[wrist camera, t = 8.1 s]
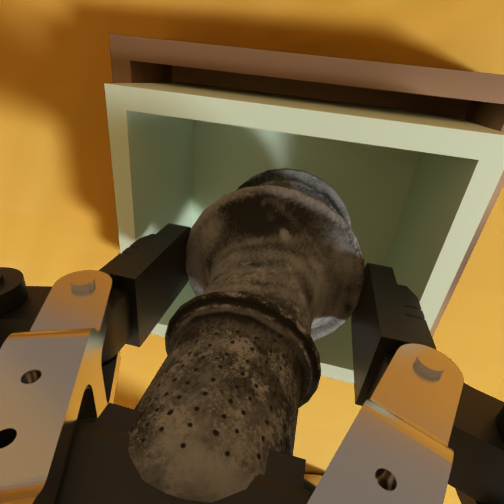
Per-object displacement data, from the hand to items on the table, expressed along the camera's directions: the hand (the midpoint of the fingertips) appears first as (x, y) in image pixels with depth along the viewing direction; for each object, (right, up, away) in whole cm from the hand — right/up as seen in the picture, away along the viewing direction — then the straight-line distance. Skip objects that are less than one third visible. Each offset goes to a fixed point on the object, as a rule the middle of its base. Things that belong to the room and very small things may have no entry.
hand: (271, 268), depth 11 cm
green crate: (+1, +3, +6) cm, 7 cm away
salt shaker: (+1, +2, +3) cm, 3 cm away
